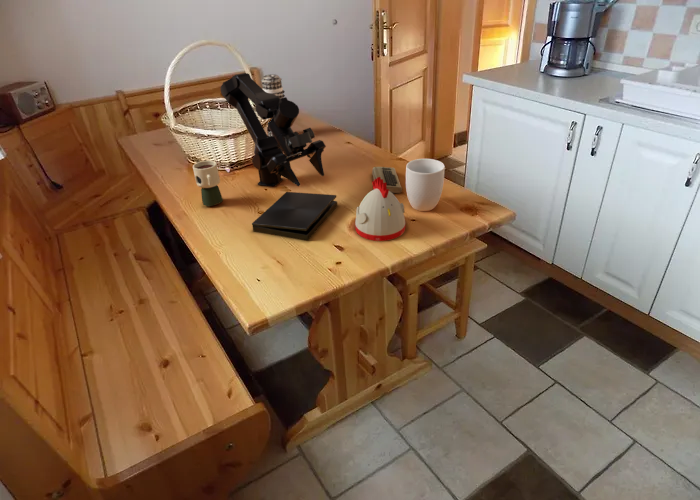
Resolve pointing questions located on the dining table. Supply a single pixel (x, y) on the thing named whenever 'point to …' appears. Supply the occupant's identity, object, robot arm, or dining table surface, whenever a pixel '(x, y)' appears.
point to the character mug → (208, 182)
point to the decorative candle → (273, 88)
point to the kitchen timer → (380, 214)
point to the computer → (388, 178)
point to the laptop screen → (295, 211)
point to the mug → (424, 183)
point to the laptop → (298, 233)
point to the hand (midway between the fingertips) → (311, 180)
